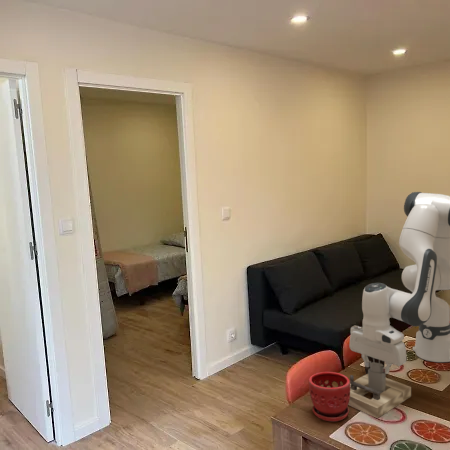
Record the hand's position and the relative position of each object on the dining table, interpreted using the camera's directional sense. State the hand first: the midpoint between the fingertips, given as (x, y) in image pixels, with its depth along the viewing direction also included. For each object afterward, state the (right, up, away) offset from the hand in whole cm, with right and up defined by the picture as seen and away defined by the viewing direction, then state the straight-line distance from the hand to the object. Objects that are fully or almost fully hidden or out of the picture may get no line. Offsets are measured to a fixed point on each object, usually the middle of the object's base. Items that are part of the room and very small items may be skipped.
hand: (376, 369), depth 155 cm
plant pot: (-18, -12, -7) cm, 23 cm away
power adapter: (0, -8, +1) cm, 8 cm away
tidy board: (-1, -10, +1) cm, 10 cm away
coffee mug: (+5, -8, +19) cm, 21 cm away
